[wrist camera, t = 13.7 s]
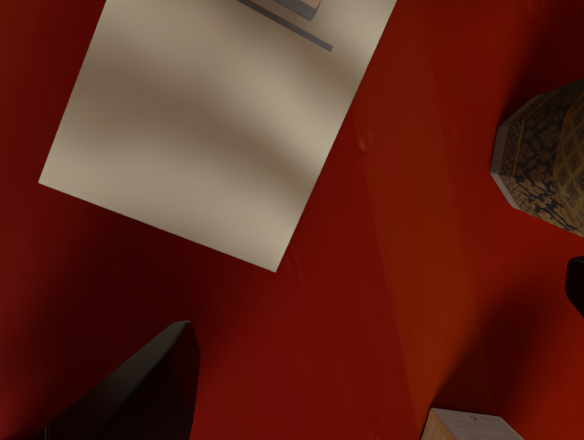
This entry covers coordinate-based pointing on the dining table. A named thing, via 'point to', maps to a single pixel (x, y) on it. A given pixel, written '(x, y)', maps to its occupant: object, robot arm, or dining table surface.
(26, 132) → the dining table surface
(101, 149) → the white lined paper sheet
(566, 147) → the ceramic cup
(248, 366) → the dining table surface
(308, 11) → the block
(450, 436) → the small box
